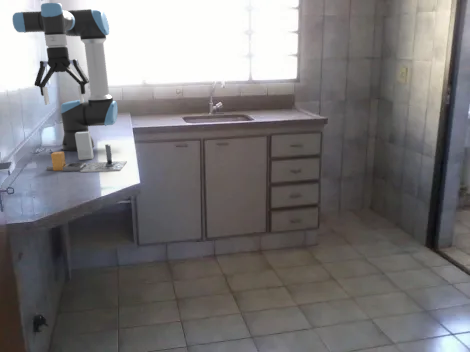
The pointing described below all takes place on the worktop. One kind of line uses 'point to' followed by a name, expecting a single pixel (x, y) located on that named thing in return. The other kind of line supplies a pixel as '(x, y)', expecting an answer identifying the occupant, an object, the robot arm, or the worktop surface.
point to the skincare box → (84, 145)
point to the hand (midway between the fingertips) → (64, 103)
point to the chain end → (64, 163)
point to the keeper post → (104, 164)
